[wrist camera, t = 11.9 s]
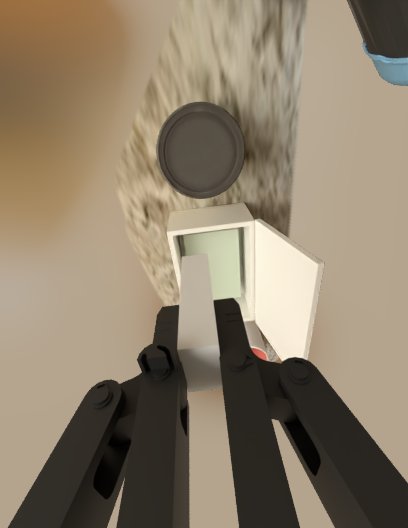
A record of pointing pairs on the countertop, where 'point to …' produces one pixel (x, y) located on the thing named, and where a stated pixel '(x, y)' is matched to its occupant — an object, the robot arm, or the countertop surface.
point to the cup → (255, 339)
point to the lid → (285, 291)
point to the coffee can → (200, 150)
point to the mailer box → (219, 249)
